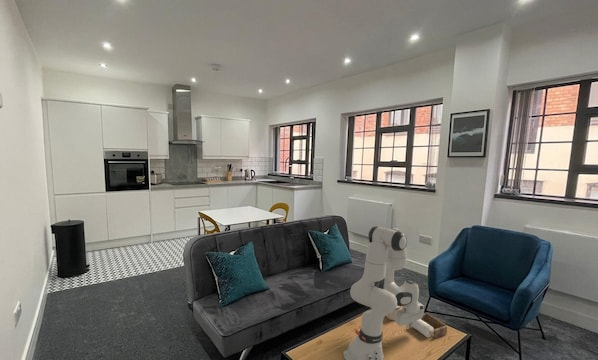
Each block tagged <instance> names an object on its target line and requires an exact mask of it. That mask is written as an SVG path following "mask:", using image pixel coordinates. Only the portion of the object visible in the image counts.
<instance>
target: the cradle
mask: <svg viewBox="0 0 598 360" xmlns="http://www.w3.org/2000/svg"><path fill="white" fill-rule="evenodd" d="M421 320H423V321H424V322H426V323H427V324H429V325H430V326H432V327H433V328H434V333H433V335H432V336H431V337H432V338H434V339H437V338H441V337H444V336H446V335H447V334H448V326H447V325H446V323H444V322H443V321H441V320H439V319H438V318H437V317H435V316H433V315H431V314H430V313H429V312H424V316H423V318H422V319H421ZM440 336H441V337H440Z"/></svg>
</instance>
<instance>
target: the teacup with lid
mask: <svg viewBox="0 0 598 360" xmlns="http://www.w3.org/2000/svg"><path fill="white" fill-rule="evenodd" d="M399 310H401V306H397V307H396V309H395V310H394V311H393V312H392V313H389V314H387V315H386V316H385V317H386V318H387V319H388V320H390V321H395V322H396V315H397V312H398V311H399Z"/></svg>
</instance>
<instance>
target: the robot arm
mask: <svg viewBox="0 0 598 360" xmlns="http://www.w3.org/2000/svg"><path fill="white" fill-rule="evenodd" d="M367 237H368V242H369V243H368V247H367V250H366V253H365V254H366V255H365V263H364V271H363V275H362V277H361V278H360V279H359V280H357V281H356V282H355V283H353V284H352V285H351V287H350V291H349V292H350V294H349V295H350V297H351V299H352V300H354V301H355V302H357V303H358V304H361V305H364V306H366V307H369V308H371V309H369V310H366V311H364V312H363V314H362V315H361V326H360V329H359V330H358V329H355V331H354V333H355V334H356V335H357V336H356V337H355V338H354V339H352V341H351V342H349V344H348V347H347V349H345V350H344V351H343V353H342V355H343V358H344V359H345V360H384V358H385V355H384V349H383V342H382V341H383V323H384V318H385V317H386V315H387V314H389V313H392V312H393V311H394V310H395V309H396V307H397V306H400V307H402V309H400V310H399V311H398V312H397V315H396V321H395V323H396V325H398V326H399V327H401V326H402V327H403V326H405V325H406V329H407V330H409V329H412V328H413V327H412V325H413V323H414V321H416V320H419V319H422V318H423V316H424V313H425V305H424V304H423V303H421V302H419V295H420V289H419V285H418V283H417V282H415V281H413V280H410V279H406V280H404V282H403V284H401V285H400V286H399V285H397V284H396V282H395V280H394V279H395V271H398V270H403V268H405V267H406V266H407V262H408V255H407V253H408V252H407V245H408V239H407V238H408V237H407V236H406V234H405V233H403V232H401V231H397V230H395V229H392V228H388V227H382V226H379V225H378V226H372V227H371V228H370V230H369V231H368V236H367ZM381 281H382V284H381V288H380V287H377V286H375V283H376V282H381Z"/></svg>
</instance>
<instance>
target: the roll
mask: <svg viewBox="0 0 598 360" xmlns="http://www.w3.org/2000/svg"><path fill="white" fill-rule="evenodd" d="M412 328H413V329H415V330H416V331H418V332H419V333H420V334H422V335H423V336H424V337H426V338H431V337H432V335H434V329H435V328H434V327H433V326H431V325H430V324H428V323H427V322H424V321H423V320H421V319H419V320H416V321H414V323H413V325H412Z"/></svg>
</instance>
